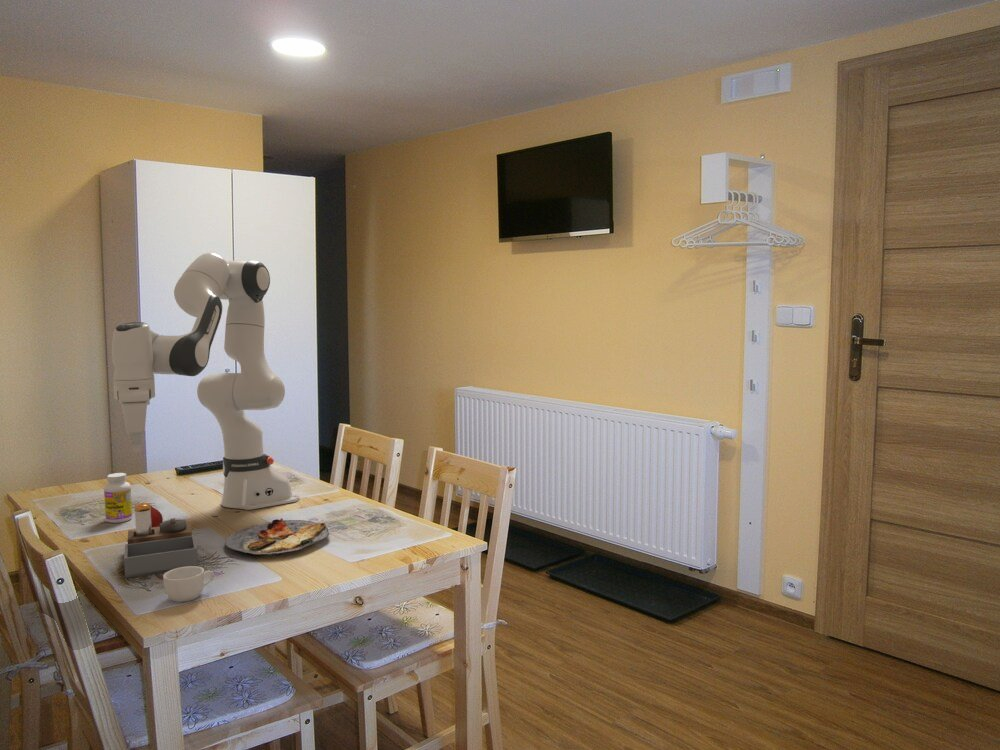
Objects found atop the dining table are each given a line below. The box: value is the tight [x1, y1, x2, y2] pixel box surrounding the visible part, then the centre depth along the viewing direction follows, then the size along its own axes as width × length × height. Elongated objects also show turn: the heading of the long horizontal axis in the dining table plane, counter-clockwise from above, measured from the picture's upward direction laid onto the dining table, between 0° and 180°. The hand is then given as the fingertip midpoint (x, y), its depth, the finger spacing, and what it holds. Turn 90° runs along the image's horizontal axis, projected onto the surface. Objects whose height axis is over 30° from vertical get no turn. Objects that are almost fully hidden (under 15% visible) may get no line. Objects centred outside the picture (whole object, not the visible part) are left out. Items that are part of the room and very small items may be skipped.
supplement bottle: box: [103, 472, 133, 524], centre depth 209 cm, size 7×7×13 cm
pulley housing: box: [127, 518, 193, 544], centre depth 184 cm, size 14×8×8 cm, turn 115°
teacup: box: [162, 565, 215, 603], centre depth 156 cm, size 10×8×5 cm
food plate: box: [224, 518, 330, 556], centre depth 190 cm, size 25×23×4 cm
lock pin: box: [134, 502, 152, 537], centre depth 182 cm, size 3×3×12 cm
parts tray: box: [123, 535, 199, 579], centre depth 174 cm, size 15×10×4 cm
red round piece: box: [150, 504, 164, 527], centre depth 196 cm, size 6×6×8 cm
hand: (137, 448), depth 181 cm, fingers open, 8 cm apart
